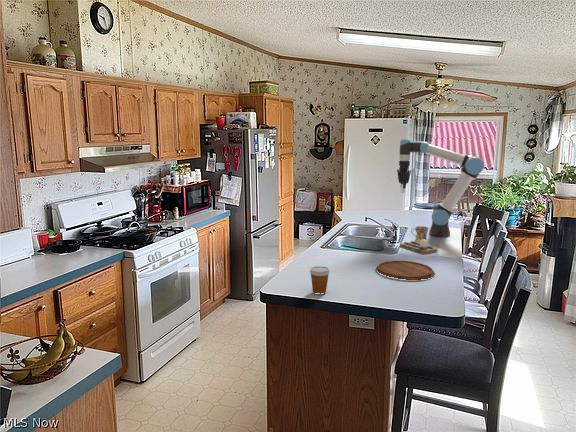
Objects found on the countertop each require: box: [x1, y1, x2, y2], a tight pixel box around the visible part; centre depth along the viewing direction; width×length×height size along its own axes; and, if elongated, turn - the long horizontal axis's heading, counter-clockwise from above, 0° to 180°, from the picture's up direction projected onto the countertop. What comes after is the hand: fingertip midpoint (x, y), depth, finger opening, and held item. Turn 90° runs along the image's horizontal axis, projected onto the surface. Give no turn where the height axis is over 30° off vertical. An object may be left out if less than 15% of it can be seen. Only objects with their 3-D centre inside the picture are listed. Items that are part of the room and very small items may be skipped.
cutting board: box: [375, 260, 436, 280], centre depth 254 cm, size 32×32×3 cm
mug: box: [411, 225, 430, 243], centre depth 321 cm, size 12×9×11 cm
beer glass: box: [309, 265, 331, 294], centre depth 219 cm, size 10×10×12 cm
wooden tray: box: [399, 240, 438, 255], centre depth 302 cm, size 22×12×3 cm, turn 29°
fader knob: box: [420, 238, 429, 248], centre depth 298 cm, size 3×4×5 cm
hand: (402, 192), depth 336 cm, fingers closed
